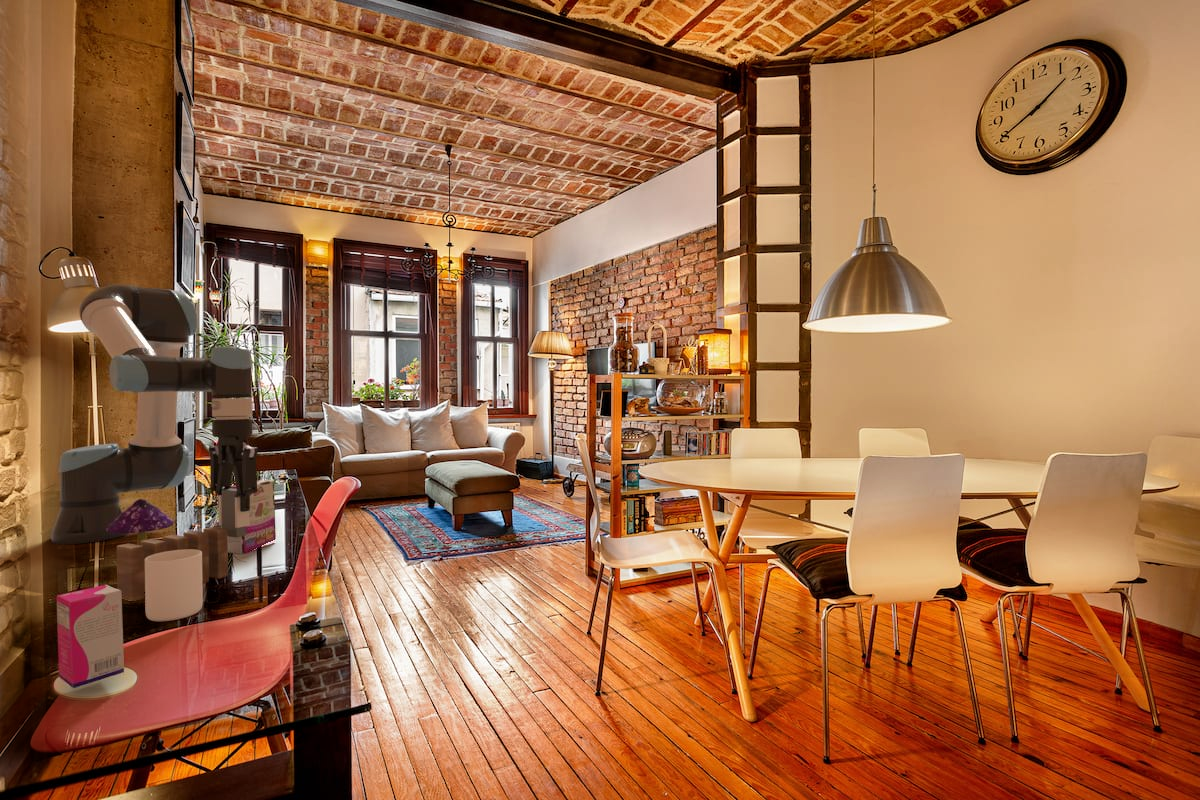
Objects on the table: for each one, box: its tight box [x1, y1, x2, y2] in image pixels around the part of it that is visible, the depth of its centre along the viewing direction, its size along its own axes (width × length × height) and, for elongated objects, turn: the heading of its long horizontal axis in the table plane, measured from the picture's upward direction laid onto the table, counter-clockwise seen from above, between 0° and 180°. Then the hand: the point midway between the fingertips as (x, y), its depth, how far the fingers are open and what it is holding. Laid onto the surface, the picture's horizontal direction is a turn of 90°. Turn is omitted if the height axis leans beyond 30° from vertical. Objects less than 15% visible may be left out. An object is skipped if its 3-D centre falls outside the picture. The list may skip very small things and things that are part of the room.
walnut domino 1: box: [116, 542, 145, 602], centre depth 116 cm, size 2×5×10 cm, turn 63°
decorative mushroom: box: [106, 498, 176, 545], centre depth 140 cm, size 12×12×15 cm
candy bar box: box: [228, 479, 277, 555], centre depth 153 cm, size 11×5×16 cm, turn 168°
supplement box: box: [56, 584, 125, 689], centre depth 84 cm, size 6×6×12 cm
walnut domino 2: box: [140, 538, 166, 592], centre depth 120 cm, size 2×5×10 cm, turn 63°
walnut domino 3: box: [162, 534, 188, 552], centre depth 123 cm, size 2×5×10 cm, turn 63°
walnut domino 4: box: [183, 530, 210, 584], centre depth 127 cm, size 2×5×10 cm, turn 63°
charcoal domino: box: [221, 488, 246, 538], centre depth 134 cm, size 2×5×10 cm, turn 64°
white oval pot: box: [144, 549, 204, 622], centre depth 110 cm, size 12×8×10 cm
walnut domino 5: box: [202, 526, 229, 580], centre depth 131 cm, size 2×5×10 cm, turn 63°
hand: (234, 525), depth 134 cm, fingers closed on charcoal domino, 5 cm apart
